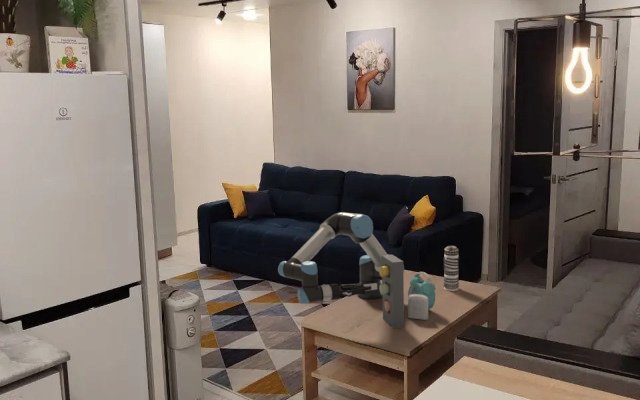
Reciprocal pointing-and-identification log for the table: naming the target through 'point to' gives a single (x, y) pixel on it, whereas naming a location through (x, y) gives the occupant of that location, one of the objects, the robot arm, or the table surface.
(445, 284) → the leaning tower model
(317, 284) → the robot arm
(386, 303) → the terracotta button
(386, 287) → the sage button
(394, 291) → the button panel
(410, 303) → the photo printer
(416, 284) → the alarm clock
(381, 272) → the mustard button
